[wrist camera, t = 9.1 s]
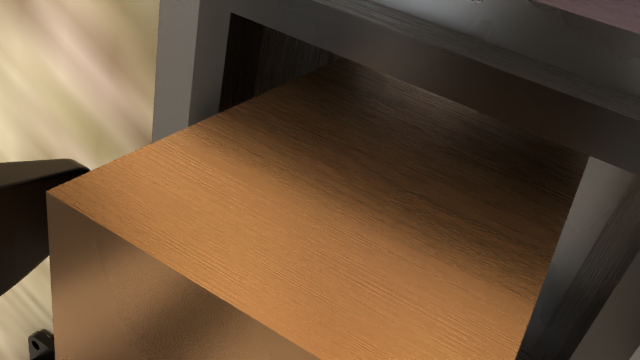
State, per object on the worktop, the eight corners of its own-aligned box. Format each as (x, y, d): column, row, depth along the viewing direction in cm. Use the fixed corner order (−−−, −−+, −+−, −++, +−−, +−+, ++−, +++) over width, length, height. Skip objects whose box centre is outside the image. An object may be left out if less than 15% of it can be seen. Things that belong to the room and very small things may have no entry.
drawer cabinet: (240, 213, 17) (112, 304, 14) (294, -113, 13) (121, -121, 9) (610, 414, 14) (581, 618, 10) (876, 60, 9) (1024, 180, 5)
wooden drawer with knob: (331, 217, 14) (-20, 531, 7) (378, 41, 12) (-80, 247, 5) (506, 306, 13) (284, 819, 6) (601, 126, 11) (420, 614, 3)
